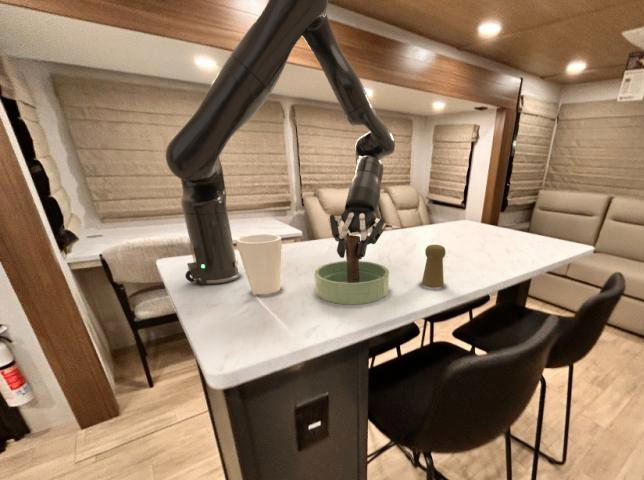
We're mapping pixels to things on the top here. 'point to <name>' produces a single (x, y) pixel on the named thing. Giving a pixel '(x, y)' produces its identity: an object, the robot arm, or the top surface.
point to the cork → (434, 266)
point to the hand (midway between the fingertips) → (350, 256)
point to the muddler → (352, 259)
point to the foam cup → (261, 261)
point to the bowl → (339, 292)
